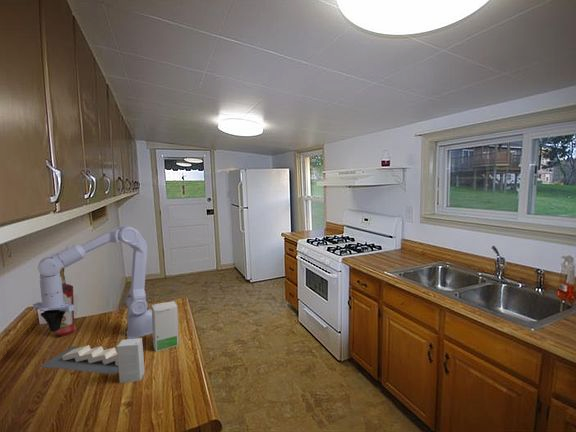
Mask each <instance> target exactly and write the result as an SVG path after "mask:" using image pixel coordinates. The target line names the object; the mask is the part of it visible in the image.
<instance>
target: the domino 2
mask: <svg viewBox="0 0 576 432" xmlns="http://www.w3.org/2000/svg"><path fill="white" fill-rule="evenodd" d="M103 350H104V348H103V346H102V345H99V346H97V347H93V349H90V350H89V351H87V352H86V353H84V354H83V355H81V356H79V357H75V360H76V362H79V361H82V360H86V359H89V358H93V357H94V356H96V355H97V354H99V353H100V352H102V351H103Z"/></svg>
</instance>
